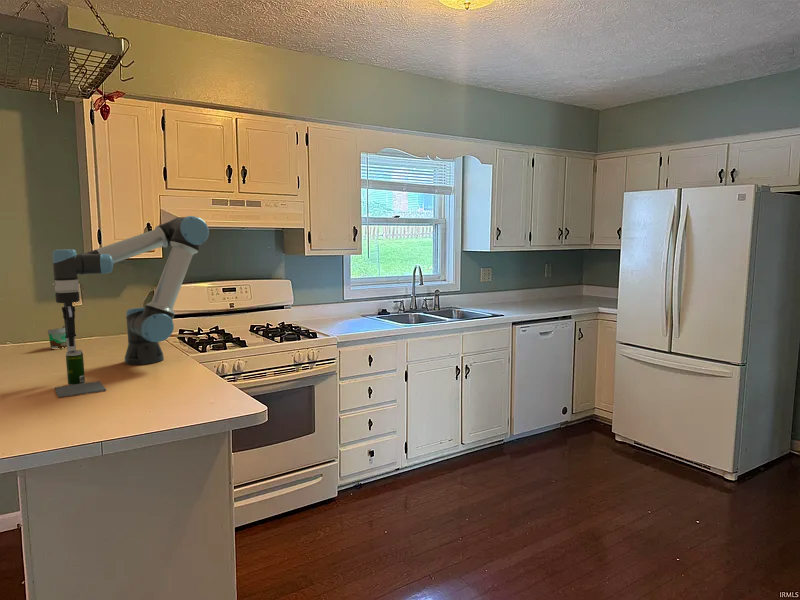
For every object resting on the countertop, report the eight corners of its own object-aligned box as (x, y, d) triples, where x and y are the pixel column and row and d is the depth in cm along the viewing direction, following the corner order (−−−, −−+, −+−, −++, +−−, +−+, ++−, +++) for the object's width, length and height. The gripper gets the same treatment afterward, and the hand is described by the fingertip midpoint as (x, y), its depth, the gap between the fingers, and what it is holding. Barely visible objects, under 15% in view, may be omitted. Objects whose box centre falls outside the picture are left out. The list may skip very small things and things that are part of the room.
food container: (61, 350, 264) (60, 329, 263) (49, 350, 264) (47, 329, 263) (77, 345, 276) (75, 325, 275) (65, 345, 276) (63, 325, 275)
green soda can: (88, 382, 204) (85, 349, 203) (79, 386, 199) (77, 353, 197) (73, 382, 204) (71, 350, 203) (64, 386, 199) (62, 353, 197)
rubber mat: (54, 389, 195) (54, 387, 195) (99, 382, 203) (99, 381, 203) (58, 398, 184) (58, 396, 184) (105, 391, 192) (105, 389, 192)
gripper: (53, 290, 208) (58, 353, 211) (56, 293, 198) (61, 358, 200) (76, 289, 212) (81, 350, 215) (80, 292, 202) (85, 356, 205)
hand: (71, 354), depth 208 cm, fingers closed
